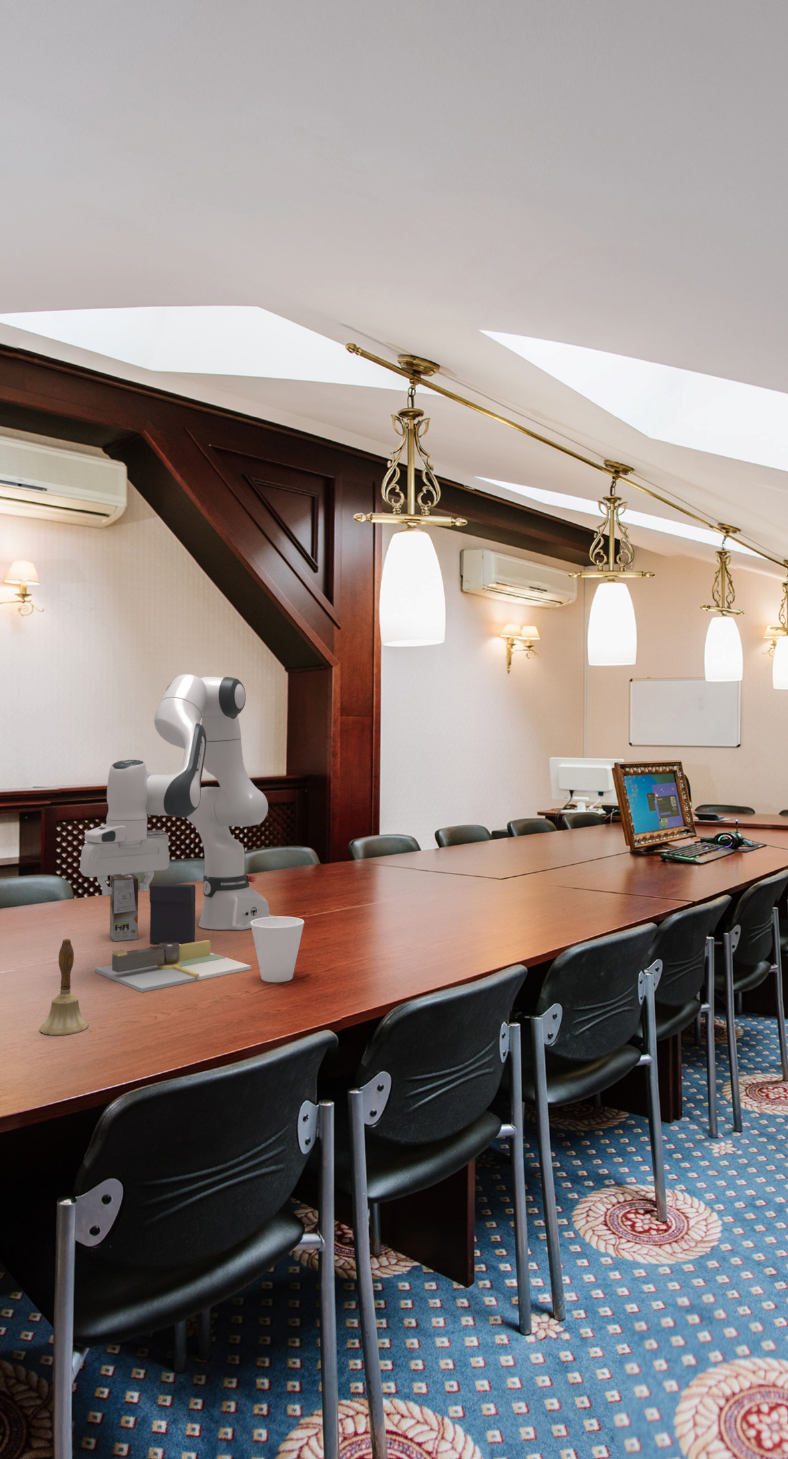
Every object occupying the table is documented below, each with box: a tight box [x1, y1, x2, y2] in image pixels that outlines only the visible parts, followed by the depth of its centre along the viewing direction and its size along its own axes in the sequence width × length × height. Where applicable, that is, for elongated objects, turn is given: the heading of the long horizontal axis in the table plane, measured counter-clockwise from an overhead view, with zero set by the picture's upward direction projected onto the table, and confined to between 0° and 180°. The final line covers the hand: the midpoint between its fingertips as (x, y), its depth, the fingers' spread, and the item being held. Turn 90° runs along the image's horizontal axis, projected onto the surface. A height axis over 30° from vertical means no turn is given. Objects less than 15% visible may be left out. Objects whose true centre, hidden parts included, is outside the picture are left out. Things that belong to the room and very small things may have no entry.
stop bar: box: [111, 941, 179, 973], centre depth 193 cm, size 15×4×4 cm, turn 134°
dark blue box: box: [149, 883, 196, 945], centre depth 223 cm, size 11×4×15 cm, turn 84°
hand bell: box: [39, 938, 90, 1036], centre depth 157 cm, size 8×8×16 cm
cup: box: [250, 915, 305, 983], centre depth 191 cm, size 12×12×12 cm
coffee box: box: [109, 873, 139, 942], centre depth 230 cm, size 9×6×16 cm
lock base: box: [94, 939, 252, 993], centre depth 196 cm, size 27×22×4 cm
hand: (125, 893), depth 196 cm, fingers open, 8 cm apart
